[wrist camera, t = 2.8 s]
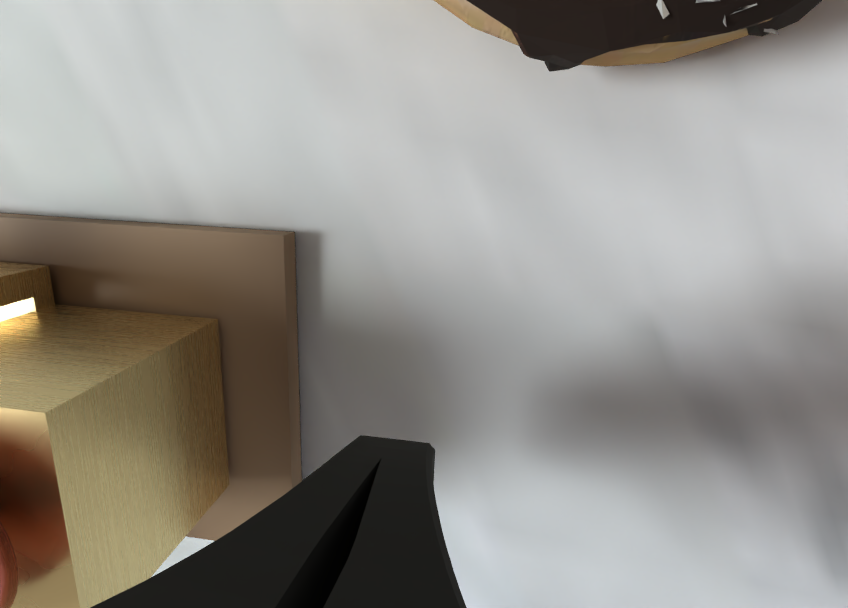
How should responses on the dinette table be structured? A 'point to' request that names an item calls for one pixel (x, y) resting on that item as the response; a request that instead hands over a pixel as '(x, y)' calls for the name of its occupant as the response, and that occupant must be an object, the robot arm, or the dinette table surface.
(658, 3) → the donut
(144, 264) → the knob block baseplate
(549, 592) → the dinette table surface
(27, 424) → the tan boxy piece
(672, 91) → the dinette table surface
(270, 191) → the dinette table surface
